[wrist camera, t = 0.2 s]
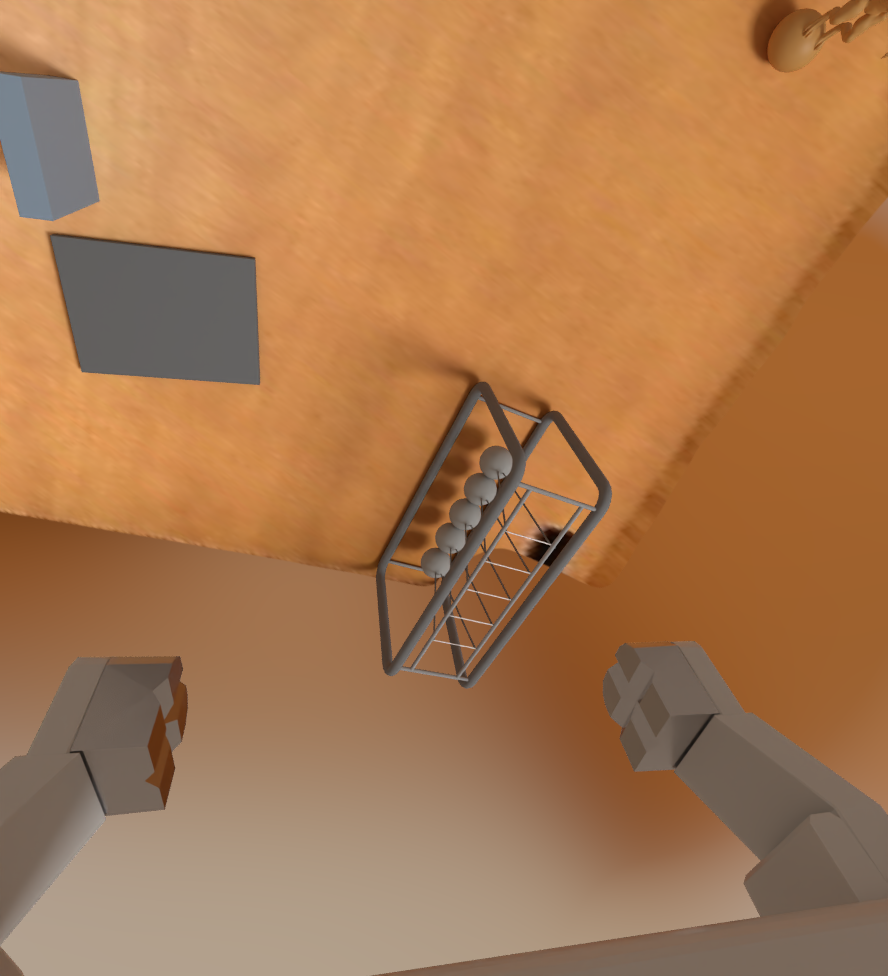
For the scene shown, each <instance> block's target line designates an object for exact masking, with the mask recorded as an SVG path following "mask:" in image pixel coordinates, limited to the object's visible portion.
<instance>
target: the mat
mask: <svg viewBox="0 0 888 976" xmlns="http://www.w3.org/2000/svg"><path fill="white" fill-rule="evenodd" d="M50 237H51V241H52V246H53V250H54V254H55V258H56V263H57V267H58V271H59V276H60V280H61V284H62V289H63V293H64V297H65V302H66V306H67V310H68V315H69V319H70V323H71V328H72V332H73V336H74V340H75V345H76V349H77V353H78V358H79V362H80V366H81V371H82V372H88V373H102V374H116V375H130V376H143V377H157V378H171V379H185V380H199V381H213V382H227V383H240V384H254V385H259V384H260V368H259V342H258V317H257V291H256V266H255V258H251V257H242V256H234V255H225V254H217V253H208V252H200V251H192V250H183V249H175V248H166V247H158V246H149V245H141V244H132V243H124V242H116V241H107V240H99V239H90V238H82V237H73V236H65V235H57V234H52V235H50Z"/></svg>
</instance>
